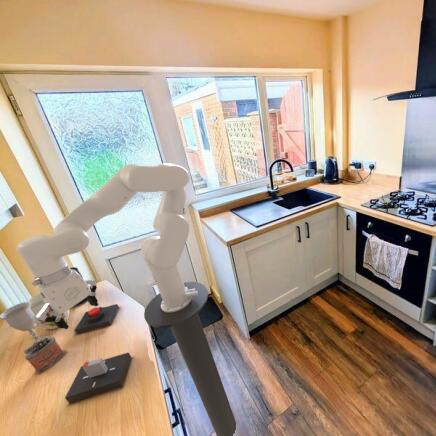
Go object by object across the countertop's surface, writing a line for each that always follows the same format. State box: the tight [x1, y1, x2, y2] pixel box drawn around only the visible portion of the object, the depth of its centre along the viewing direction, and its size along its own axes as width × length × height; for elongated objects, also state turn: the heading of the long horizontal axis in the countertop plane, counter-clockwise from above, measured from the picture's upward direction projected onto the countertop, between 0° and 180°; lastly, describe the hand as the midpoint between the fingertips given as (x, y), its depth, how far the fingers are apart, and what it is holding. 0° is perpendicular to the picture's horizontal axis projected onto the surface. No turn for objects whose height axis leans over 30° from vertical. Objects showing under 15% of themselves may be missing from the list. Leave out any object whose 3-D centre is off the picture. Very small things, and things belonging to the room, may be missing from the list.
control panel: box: [64, 352, 133, 405], centre depth 77 cm, size 14×10×3 cm
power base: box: [73, 303, 120, 335], centre depth 100 cm, size 12×10×4 cm
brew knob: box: [82, 357, 108, 378], centre depth 75 cm, size 4×2×5 cm, turn 106°
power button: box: [87, 306, 101, 317], centre depth 99 cm, size 4×4×2 cm
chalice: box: [0, 301, 43, 344], centre depth 89 cm, size 7×7×18 cm
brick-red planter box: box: [23, 335, 66, 374], centre depth 83 cm, size 8×3×10 cm, turn 159°
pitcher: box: [26, 293, 71, 330], centre depth 99 cm, size 11×18×14 cm, turn 137°
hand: (80, 315), depth 81 cm, fingers open, 9 cm apart
